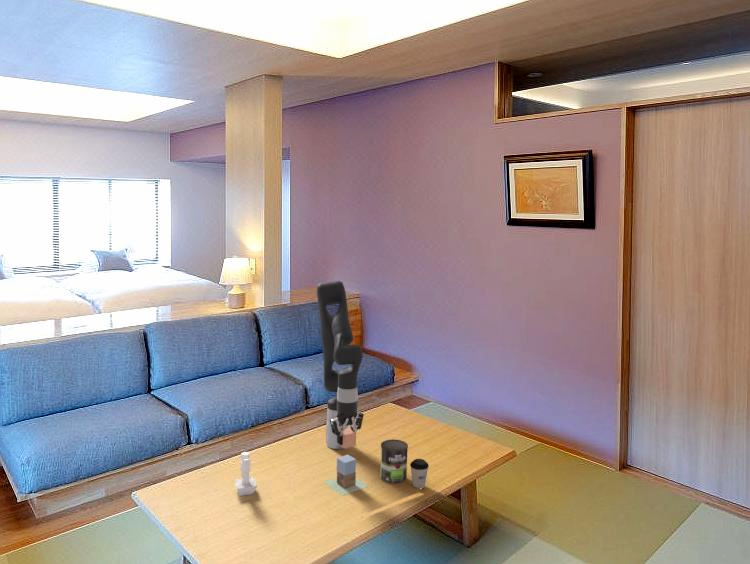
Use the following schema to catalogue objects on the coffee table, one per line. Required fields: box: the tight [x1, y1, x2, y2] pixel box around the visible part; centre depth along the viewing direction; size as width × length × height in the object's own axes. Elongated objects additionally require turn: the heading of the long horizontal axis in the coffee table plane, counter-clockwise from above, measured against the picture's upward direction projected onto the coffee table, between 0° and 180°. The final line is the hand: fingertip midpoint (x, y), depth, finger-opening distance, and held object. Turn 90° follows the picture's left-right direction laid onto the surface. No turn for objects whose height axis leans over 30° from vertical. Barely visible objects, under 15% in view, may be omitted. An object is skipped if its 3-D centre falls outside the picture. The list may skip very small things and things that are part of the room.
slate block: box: [336, 454, 357, 476], centre depth 213 cm, size 5×5×5 cm
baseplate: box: [323, 477, 369, 496], centre depth 214 cm, size 12×12×1 cm
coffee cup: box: [409, 458, 429, 490], centre depth 215 cm, size 7×7×10 cm
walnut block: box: [336, 470, 357, 489], centre depth 214 cm, size 5×5×5 cm
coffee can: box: [379, 439, 409, 485], centre depth 220 cm, size 10×10×14 cm
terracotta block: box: [337, 427, 357, 449], centre depth 212 cm, size 5×5×5 cm
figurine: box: [233, 451, 258, 497], centre depth 208 cm, size 7×9×15 cm
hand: (346, 442), depth 212 cm, fingers closed on terracotta block, 5 cm apart
